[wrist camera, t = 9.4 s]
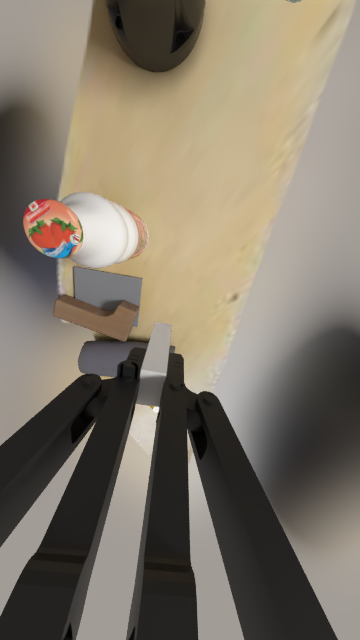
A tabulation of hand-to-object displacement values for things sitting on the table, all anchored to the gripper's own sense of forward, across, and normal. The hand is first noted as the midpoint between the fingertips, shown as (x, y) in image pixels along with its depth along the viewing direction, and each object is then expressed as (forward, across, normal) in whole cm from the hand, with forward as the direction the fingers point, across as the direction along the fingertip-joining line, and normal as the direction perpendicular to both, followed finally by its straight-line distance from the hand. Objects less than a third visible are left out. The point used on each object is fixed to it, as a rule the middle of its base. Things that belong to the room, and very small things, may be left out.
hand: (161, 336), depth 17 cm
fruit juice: (+32, -12, +6) cm, 34 cm away
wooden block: (+28, -8, -14) cm, 32 cm away
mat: (+31, -15, -10) cm, 36 cm away
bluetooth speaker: (+31, -7, -23) cm, 39 cm away
